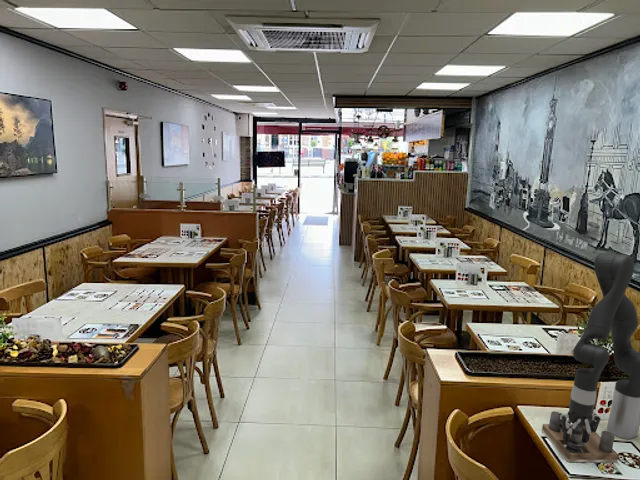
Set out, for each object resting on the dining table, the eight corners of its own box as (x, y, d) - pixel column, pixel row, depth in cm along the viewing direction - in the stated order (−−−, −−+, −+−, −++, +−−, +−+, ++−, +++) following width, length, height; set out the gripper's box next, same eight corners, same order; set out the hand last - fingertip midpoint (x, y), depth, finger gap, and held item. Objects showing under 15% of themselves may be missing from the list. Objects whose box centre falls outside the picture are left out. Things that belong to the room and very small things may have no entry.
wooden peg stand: (586, 431, 187) (590, 410, 186) (617, 462, 170) (622, 439, 168) (541, 431, 186) (545, 409, 184) (567, 462, 169) (571, 438, 167)
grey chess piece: (578, 445, 176) (584, 415, 173) (585, 456, 170) (591, 425, 168) (561, 443, 176) (567, 413, 174) (568, 454, 171) (574, 423, 168)
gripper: (596, 393, 173) (588, 435, 177) (557, 392, 172) (550, 434, 176) (609, 404, 166) (601, 448, 169) (568, 404, 165) (561, 448, 168)
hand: (575, 441), depth 172 cm, fingers open, 6 cm apart
